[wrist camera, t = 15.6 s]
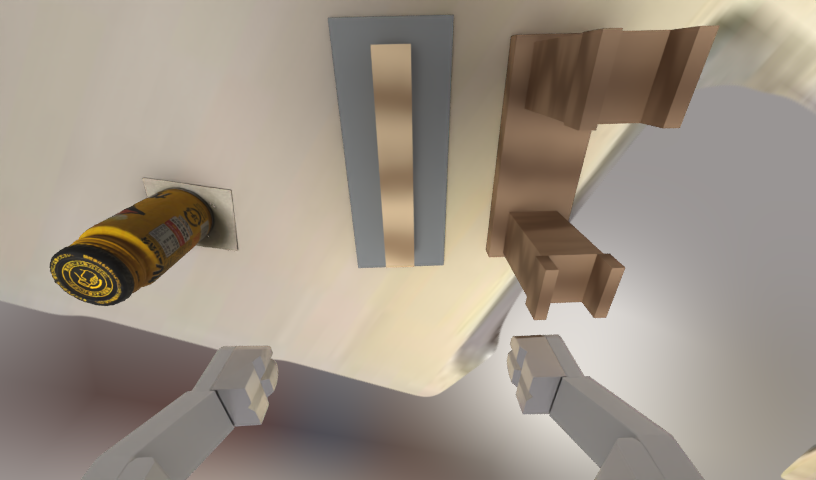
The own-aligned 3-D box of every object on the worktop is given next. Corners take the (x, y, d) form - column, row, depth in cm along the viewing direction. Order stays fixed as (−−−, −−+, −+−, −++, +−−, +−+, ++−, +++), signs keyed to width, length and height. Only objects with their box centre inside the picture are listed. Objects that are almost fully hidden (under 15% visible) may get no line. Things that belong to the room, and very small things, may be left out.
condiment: (143, 177, 31) (14, 234, 21) (231, 189, 32) (150, 250, 22) (159, 239, 35) (56, 315, 24) (238, 249, 36) (172, 326, 25)
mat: (329, 18, 25) (327, 17, 25) (452, 15, 25) (453, 14, 25) (358, 265, 37) (358, 267, 36) (442, 262, 37) (443, 265, 36)
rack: (511, 36, 26) (586, 16, 16) (605, 33, 26) (743, 13, 16) (485, 250, 36) (521, 324, 26) (553, 248, 36) (616, 321, 26)
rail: (373, 46, 26) (370, 44, 23) (409, 45, 26) (410, 43, 23) (387, 252, 35) (386, 267, 33) (413, 251, 35) (414, 266, 33)
